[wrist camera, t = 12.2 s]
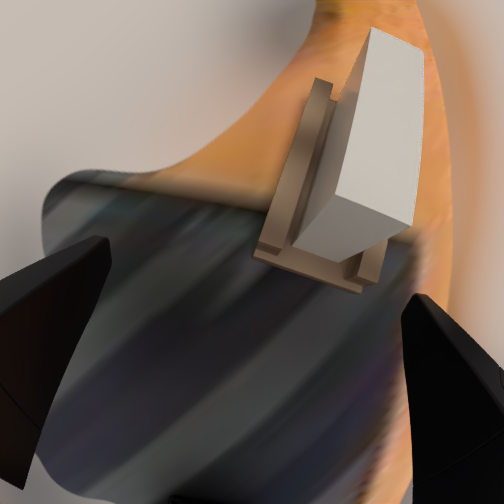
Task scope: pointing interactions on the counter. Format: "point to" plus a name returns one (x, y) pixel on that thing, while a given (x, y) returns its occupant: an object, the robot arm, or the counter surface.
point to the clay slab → (368, 154)
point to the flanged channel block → (292, 203)
